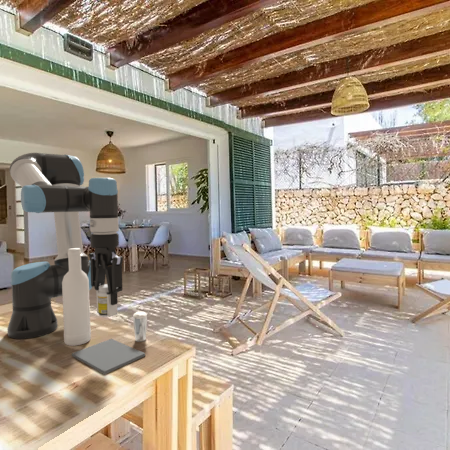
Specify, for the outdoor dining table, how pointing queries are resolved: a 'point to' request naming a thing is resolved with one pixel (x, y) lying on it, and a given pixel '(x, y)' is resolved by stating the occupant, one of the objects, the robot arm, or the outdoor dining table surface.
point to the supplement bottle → (102, 300)
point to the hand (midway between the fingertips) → (107, 313)
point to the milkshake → (140, 325)
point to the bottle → (76, 302)
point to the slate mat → (108, 355)
